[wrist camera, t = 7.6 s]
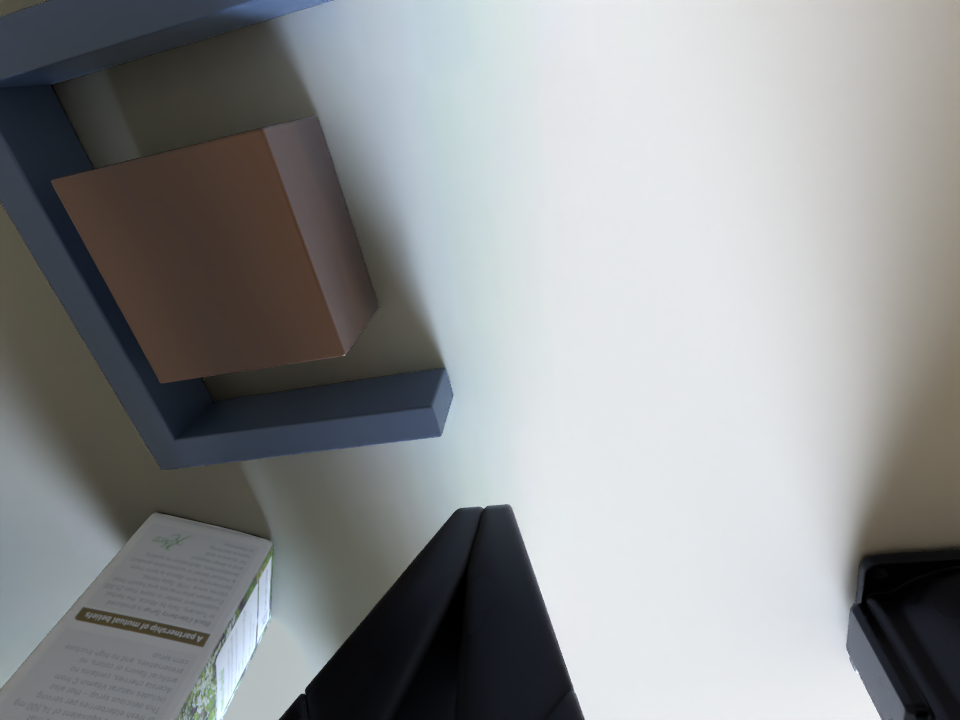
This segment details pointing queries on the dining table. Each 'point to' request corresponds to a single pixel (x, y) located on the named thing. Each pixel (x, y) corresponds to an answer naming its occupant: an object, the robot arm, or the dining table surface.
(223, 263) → the walnut block
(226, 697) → the syrup box
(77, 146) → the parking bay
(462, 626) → the robot arm
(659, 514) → the dining table surface
